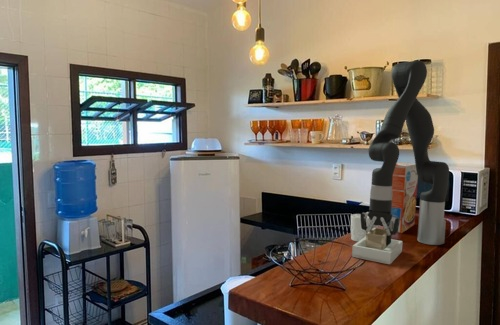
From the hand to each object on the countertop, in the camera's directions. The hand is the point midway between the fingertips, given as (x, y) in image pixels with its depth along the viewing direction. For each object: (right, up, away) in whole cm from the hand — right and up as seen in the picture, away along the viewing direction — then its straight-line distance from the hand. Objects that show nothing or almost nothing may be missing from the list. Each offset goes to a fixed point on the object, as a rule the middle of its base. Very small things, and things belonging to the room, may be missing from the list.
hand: (378, 243), depth 142 cm
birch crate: (0, -1, 0) cm, 1 cm away
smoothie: (+6, -2, +26) cm, 27 cm away
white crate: (0, -4, 0) cm, 4 cm away
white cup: (-2, -3, +19) cm, 19 cm away
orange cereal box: (+24, -2, +43) cm, 49 cm away
